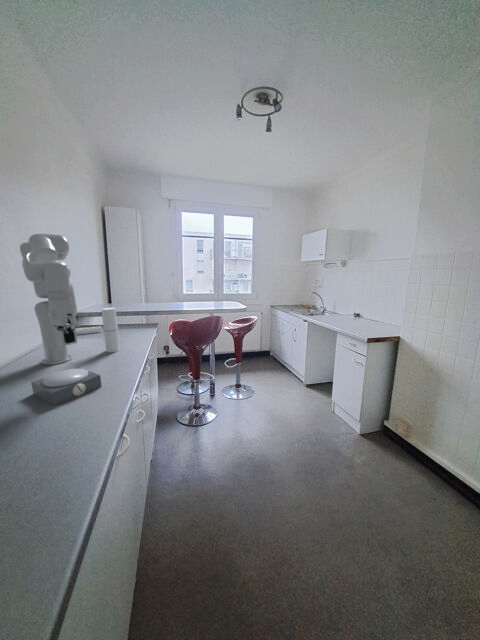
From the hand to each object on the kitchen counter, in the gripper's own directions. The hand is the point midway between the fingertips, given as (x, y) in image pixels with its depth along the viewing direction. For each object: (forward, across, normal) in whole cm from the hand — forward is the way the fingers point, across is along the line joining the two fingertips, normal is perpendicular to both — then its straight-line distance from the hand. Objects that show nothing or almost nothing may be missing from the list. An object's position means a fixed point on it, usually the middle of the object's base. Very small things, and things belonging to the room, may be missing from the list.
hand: (66, 341), depth 99 cm
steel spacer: (+1, 0, 0) cm, 1 cm away
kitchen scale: (+20, +1, -3) cm, 20 cm away
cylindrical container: (+19, -29, +37) cm, 51 cm away
